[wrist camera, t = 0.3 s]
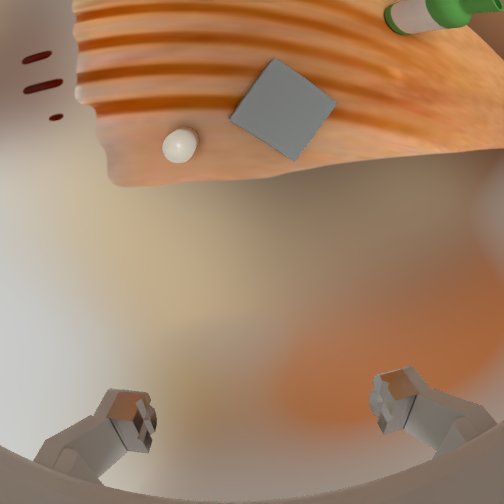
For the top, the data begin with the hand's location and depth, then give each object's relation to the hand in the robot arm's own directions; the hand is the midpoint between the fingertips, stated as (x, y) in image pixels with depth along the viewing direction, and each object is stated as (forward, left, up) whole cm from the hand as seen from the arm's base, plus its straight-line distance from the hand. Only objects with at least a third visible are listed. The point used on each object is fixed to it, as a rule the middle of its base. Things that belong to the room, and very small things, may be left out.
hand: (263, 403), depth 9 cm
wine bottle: (-46, +12, -51) cm, 70 cm away
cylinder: (+4, -8, -51) cm, 52 cm away
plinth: (-11, +4, -51) cm, 52 cm away
